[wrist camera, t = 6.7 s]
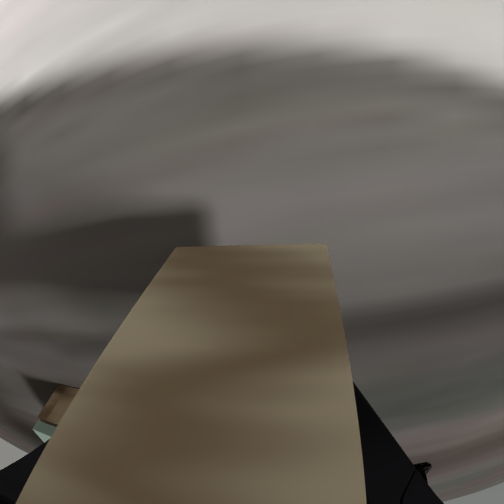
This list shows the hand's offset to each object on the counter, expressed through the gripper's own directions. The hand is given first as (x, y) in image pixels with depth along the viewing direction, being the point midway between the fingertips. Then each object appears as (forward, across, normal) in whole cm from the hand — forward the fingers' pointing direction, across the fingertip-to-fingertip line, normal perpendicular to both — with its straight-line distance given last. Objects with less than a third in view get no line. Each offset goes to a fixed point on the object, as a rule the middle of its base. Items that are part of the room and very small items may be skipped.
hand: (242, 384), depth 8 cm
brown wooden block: (+3, 0, 0) cm, 3 cm away
